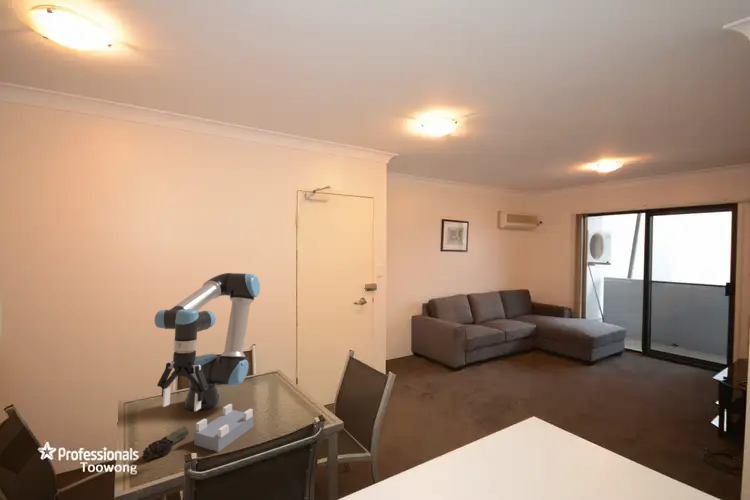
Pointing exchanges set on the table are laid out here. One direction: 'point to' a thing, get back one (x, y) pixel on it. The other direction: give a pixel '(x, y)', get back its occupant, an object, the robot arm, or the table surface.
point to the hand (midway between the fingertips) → (181, 407)
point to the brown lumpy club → (164, 444)
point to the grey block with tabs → (223, 429)
